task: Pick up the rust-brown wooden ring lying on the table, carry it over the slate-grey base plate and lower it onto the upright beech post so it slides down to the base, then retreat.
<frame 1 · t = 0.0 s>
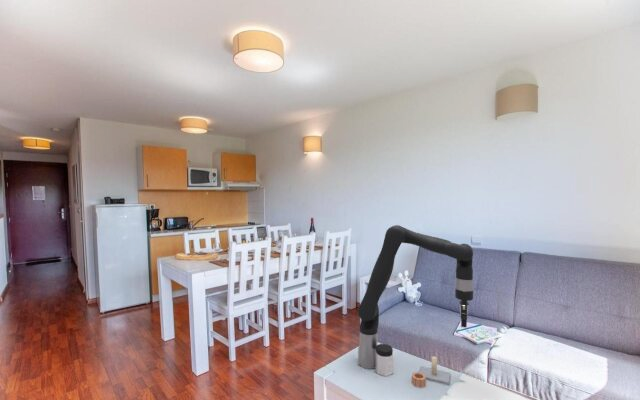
hand: (463, 323, 143), 29 cm above the table, fingers open, 8 cm apart
ring: (418, 383, 146), on the table
jar: (384, 371, 156), on the table
post block: (434, 376, 152), on the table
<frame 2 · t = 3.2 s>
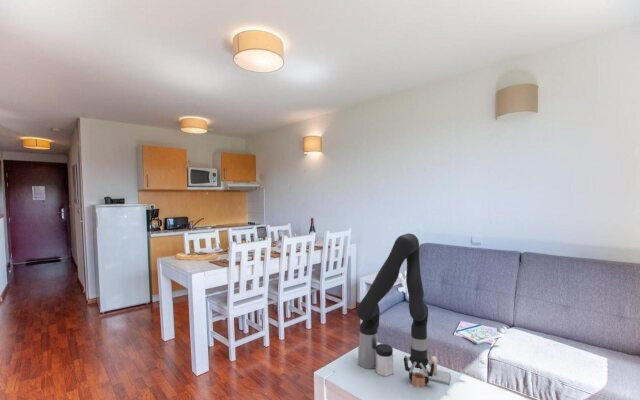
hand: (418, 381, 146), 1 cm above the table, fingers closed on ring, 6 cm apart
ring: (418, 383, 146), on the table, touching gripper
everything else where it was.
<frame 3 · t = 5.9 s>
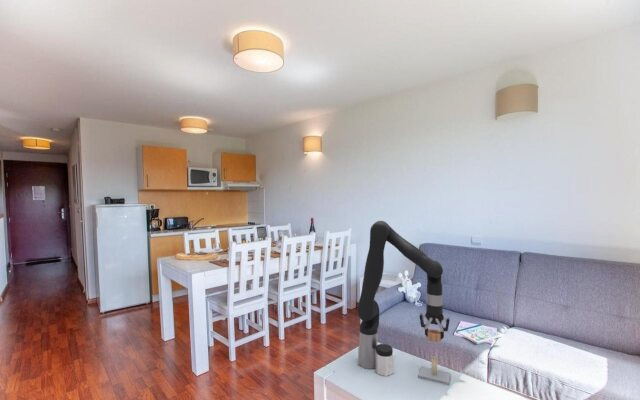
hand: (434, 337, 151), 19 cm above the table, fingers closed on ring, 6 cm apart
ring: (434, 339, 151), point 18 cm above the table, touching gripper
everything else where it was.
when the fingers open (5 cm above the table, at t = 8.9 s): ring drops 3 cm, resting on post block.
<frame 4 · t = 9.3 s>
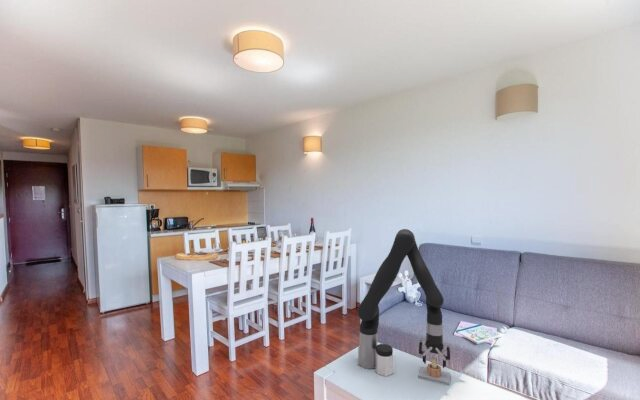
hand: (434, 364, 152), 6 cm above the table, fingers open, 8 cm apart
ring: (434, 373, 152), point 1 cm above the table, touching post block
everything else where it was.
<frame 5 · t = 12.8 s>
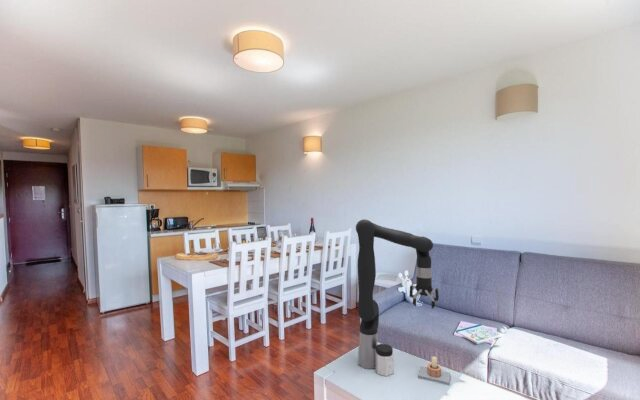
hand: (423, 306, 162), 30 cm above the table, fingers open, 8 cm apart
nothing on the table moved.
at the end: ring 0.1 cm from the post block (horizontally); ring point 1.2 cm above the table; the gripper is holding nothing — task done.
